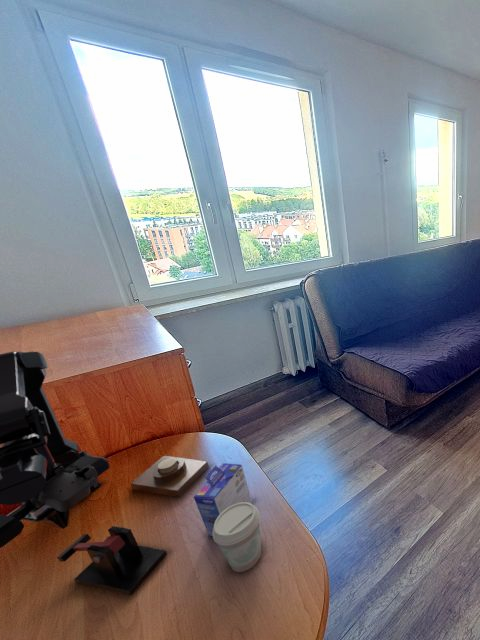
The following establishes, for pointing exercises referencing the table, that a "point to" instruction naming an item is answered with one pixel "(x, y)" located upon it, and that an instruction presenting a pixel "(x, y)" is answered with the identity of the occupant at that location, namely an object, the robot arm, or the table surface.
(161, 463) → the bell button
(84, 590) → the table surface
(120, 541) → the red lever handle
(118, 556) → the lever stand
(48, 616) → the table surface
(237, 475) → the ink cartridge box
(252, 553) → the coffee cup
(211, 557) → the table surface
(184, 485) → the bell block
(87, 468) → the robot arm
